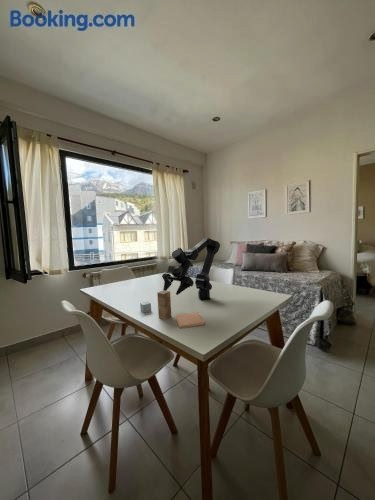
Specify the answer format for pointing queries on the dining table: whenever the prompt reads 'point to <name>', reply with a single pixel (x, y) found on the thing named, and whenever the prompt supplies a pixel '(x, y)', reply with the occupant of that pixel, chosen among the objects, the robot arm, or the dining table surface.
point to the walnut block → (164, 304)
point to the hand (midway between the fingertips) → (170, 293)
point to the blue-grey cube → (145, 306)
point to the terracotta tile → (189, 320)
